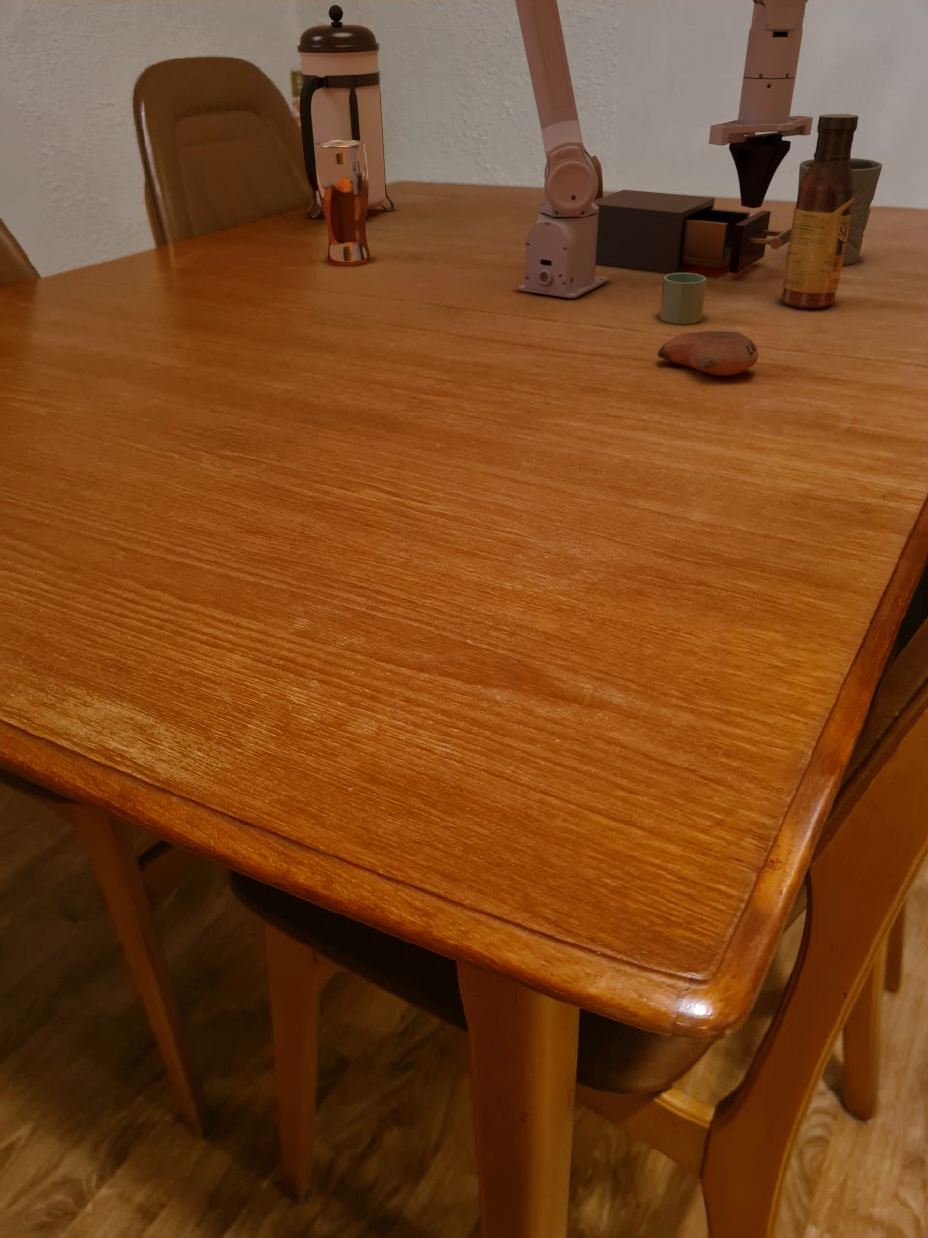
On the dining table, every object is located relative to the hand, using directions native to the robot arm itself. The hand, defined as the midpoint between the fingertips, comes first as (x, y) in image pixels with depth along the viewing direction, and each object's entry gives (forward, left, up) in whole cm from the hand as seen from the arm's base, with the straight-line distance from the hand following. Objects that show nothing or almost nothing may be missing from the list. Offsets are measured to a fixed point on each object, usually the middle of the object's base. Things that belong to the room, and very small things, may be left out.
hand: (751, 206), depth 115 cm
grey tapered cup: (+19, -5, -10) cm, 22 cm away
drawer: (+7, +5, -9) cm, 12 cm away
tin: (+31, +37, -10) cm, 50 cm away
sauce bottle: (-3, -9, -10) cm, 14 cm away
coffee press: (+11, +72, -10) cm, 74 cm away
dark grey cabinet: (+7, +16, -9) cm, 20 cm away
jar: (-17, +1, -9) cm, 19 cm away
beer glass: (-14, +52, -10) cm, 55 cm away
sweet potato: (-32, -8, -10) cm, 34 cm away
